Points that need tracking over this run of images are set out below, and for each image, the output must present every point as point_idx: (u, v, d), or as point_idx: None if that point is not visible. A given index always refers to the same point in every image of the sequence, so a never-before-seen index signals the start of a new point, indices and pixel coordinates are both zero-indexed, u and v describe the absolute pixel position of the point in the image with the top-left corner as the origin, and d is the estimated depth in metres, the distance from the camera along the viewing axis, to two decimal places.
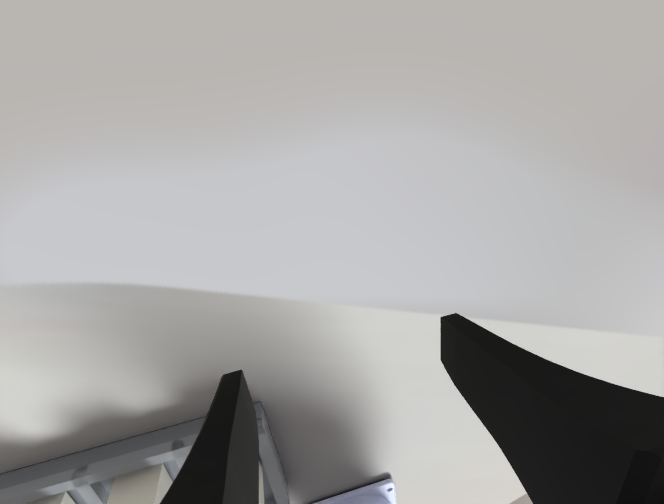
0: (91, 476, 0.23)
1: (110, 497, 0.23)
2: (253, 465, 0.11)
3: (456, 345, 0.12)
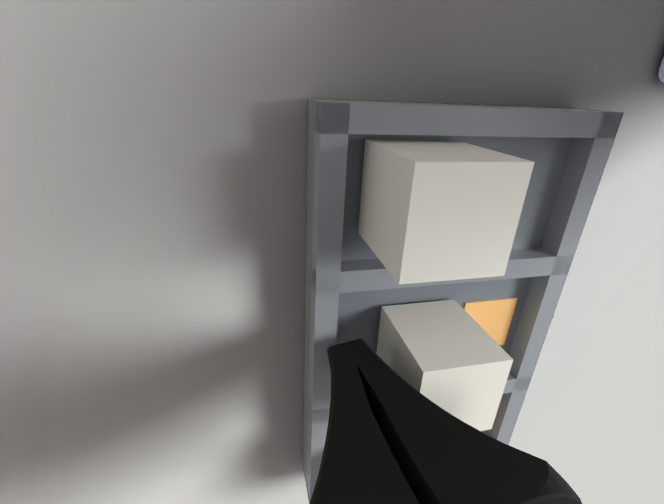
0: (316, 402, 0.14)
1: None
2: None
3: None
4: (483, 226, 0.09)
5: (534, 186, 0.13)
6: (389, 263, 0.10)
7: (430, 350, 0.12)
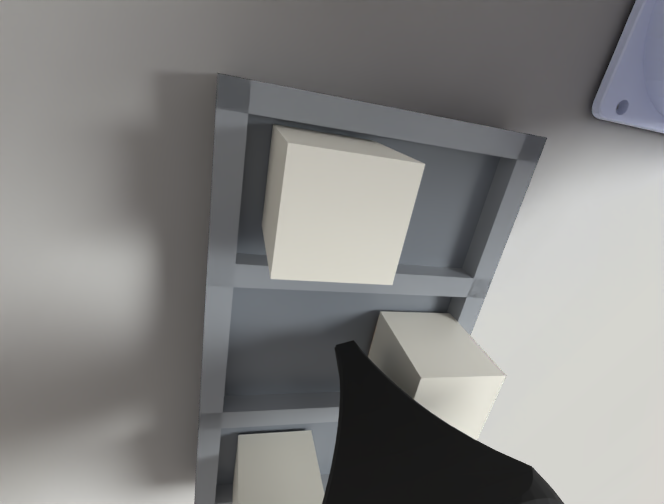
0: (203, 405, 0.13)
1: None
2: None
3: None
4: (368, 227, 0.08)
5: (457, 203, 0.13)
6: (269, 256, 0.09)
7: (428, 358, 0.12)
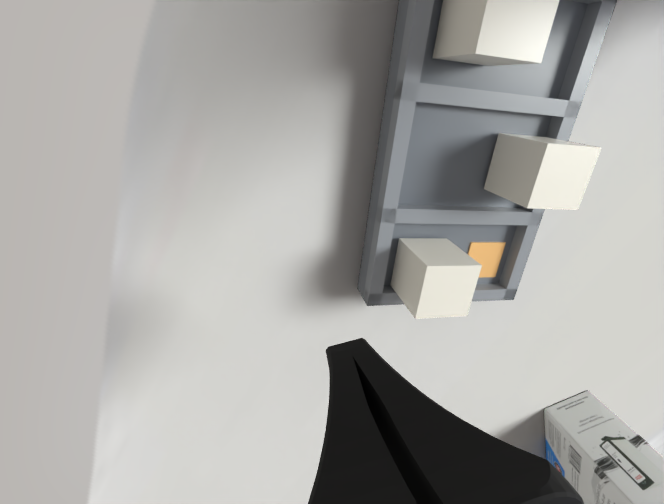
0: (386, 201, 0.19)
1: (499, 193, 0.19)
2: None
3: None
4: (532, 17, 0.14)
5: (556, 43, 0.18)
6: (466, 48, 0.14)
7: (546, 141, 0.17)
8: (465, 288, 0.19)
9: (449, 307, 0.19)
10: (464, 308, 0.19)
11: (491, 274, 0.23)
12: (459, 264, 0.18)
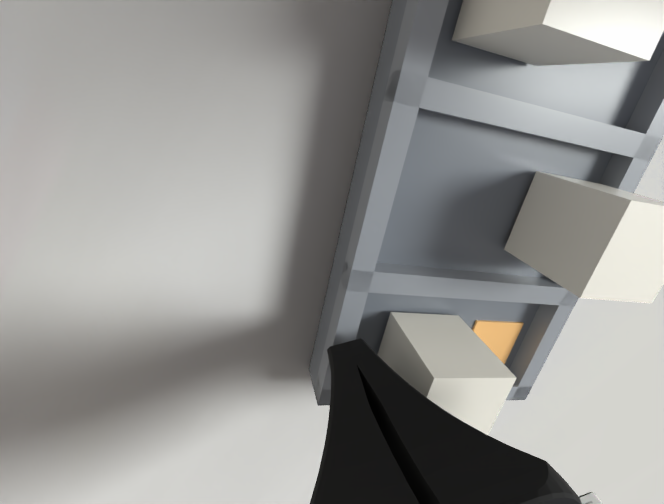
0: (358, 260, 0.12)
1: (531, 263, 0.13)
2: None
3: None
4: None
5: None
6: (522, 16, 0.08)
7: (619, 194, 0.11)
8: (487, 409, 0.12)
9: None
10: None
11: None
12: (483, 375, 0.11)
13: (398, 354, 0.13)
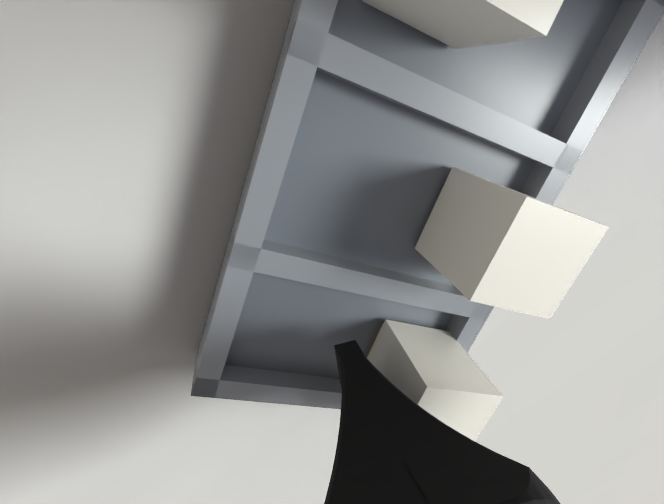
0: (242, 231, 0.11)
1: (434, 262, 0.12)
2: None
3: None
4: None
5: (565, 50, 0.11)
6: None
7: None
8: (471, 425, 0.12)
9: None
10: None
11: None
12: (472, 389, 0.12)
13: (389, 361, 0.13)
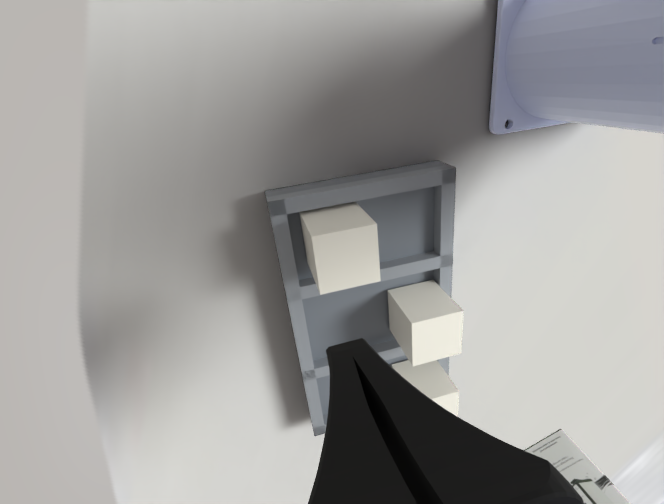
0: (303, 367, 0.23)
1: (398, 341, 0.23)
2: None
3: None
4: (359, 258, 0.17)
5: (416, 215, 0.21)
6: (316, 283, 0.18)
7: (416, 311, 0.20)
8: (450, 408, 0.23)
9: None
10: None
11: None
12: (440, 394, 0.22)
13: None
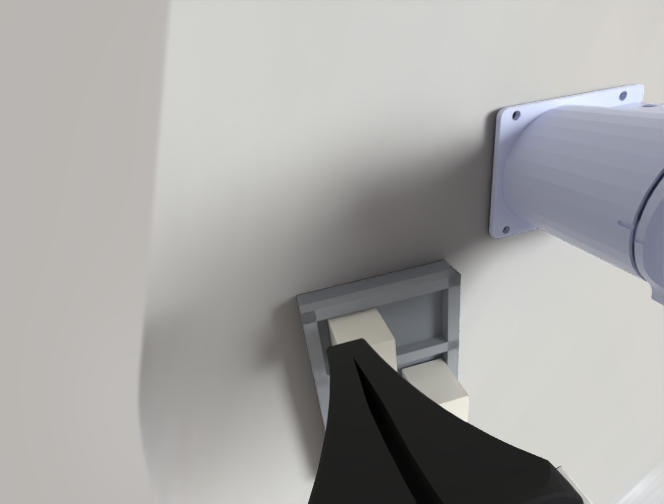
0: None
1: None
2: None
3: None
4: None
5: (426, 309, 0.24)
6: None
7: (427, 395, 0.23)
8: None
9: None
10: None
11: None
12: None
13: None
